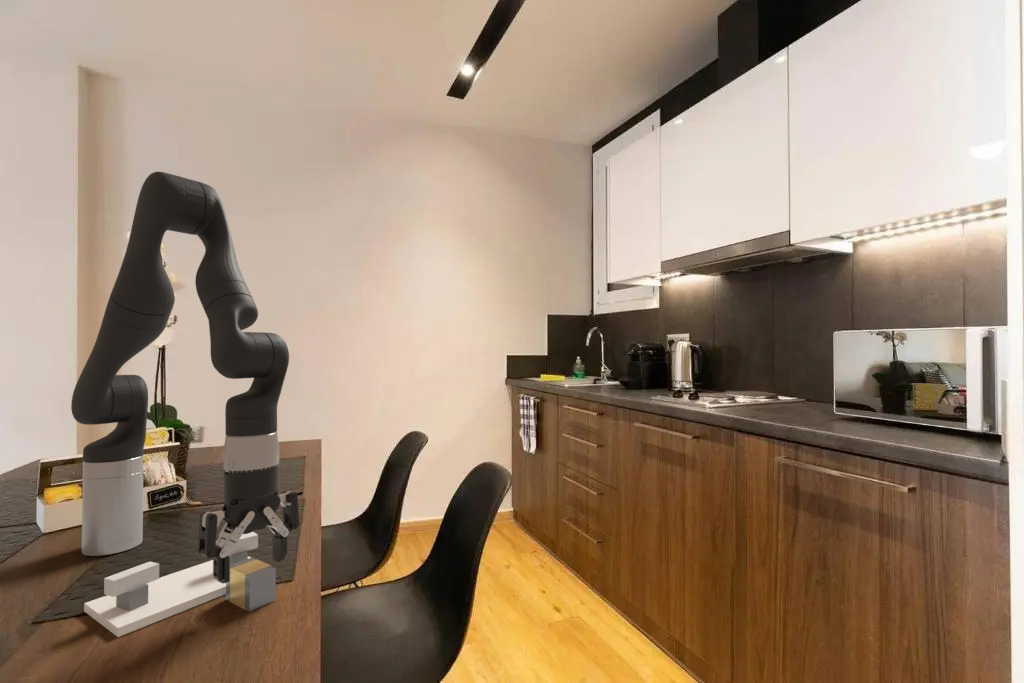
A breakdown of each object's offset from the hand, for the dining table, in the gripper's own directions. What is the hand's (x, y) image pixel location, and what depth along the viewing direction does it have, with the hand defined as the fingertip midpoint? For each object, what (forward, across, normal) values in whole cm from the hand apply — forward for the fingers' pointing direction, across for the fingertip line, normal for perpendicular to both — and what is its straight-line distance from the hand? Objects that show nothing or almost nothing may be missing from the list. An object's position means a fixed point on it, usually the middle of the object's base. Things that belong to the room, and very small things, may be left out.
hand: (252, 570), depth 76 cm
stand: (+4, +4, -11) cm, 13 cm away
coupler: (+4, 0, 0) cm, 5 cm away
